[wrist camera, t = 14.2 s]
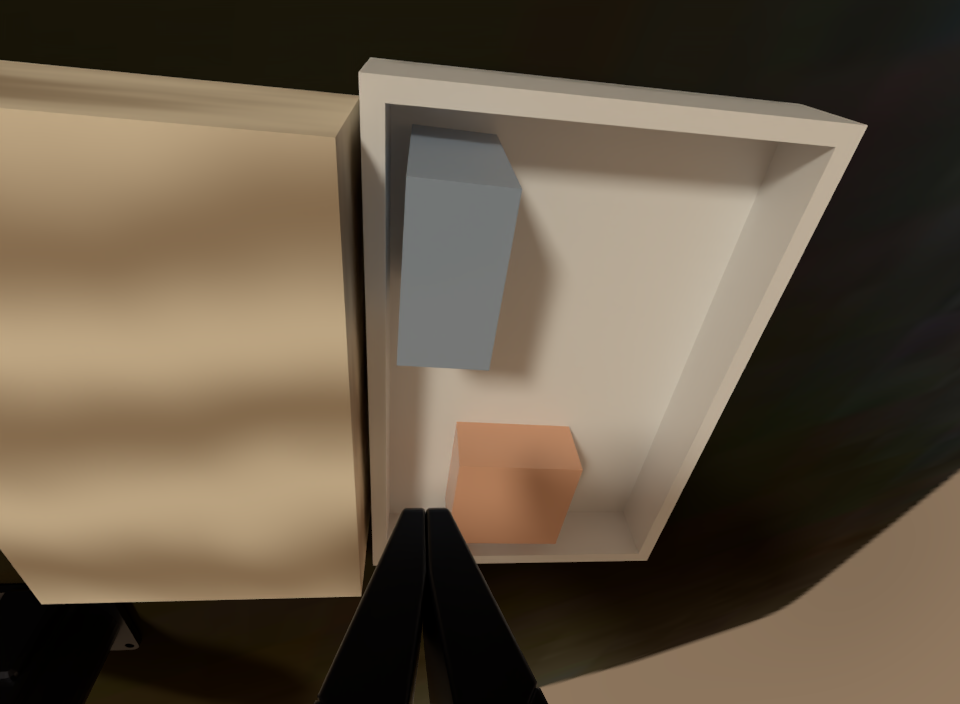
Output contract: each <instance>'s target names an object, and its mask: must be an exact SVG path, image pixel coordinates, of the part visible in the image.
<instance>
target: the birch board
mask: <svg viewBox="0 0 960 704" xmlns="http://www.w3.org/2000/svg"><path fill="white" fill-rule="evenodd" d="M370 510H371V476H370V442H369V408H368V374H367V340H366V306H365V272H364V238H363V204H362V170H361V136H360V102H359V96H358V95H347V94H337V93H327V92H317V91H307V90H297V89H287V88H277V87H266V86H256V85H246V84H236V83H226V82H216V81H206V80H196V79H185V78H175V77H165V76H155V75H145V74H135V73H125V72H115V71H104V70H94V69H84V68H74V67H64V66H54V65H44V64H34V63H23V62H13V61H3V60H0V549H1V551H2V552H3V553H4V555H5V556H6V557H7V559H8V560H9V561H10V563H11V564H12V565H13V567H14V568H15V569H16V571H17V572H18V573H19V575H20V576H21V577H22V579H23V580H24V581H25V583H26V584H27V586H28V587H29V588H30V590H31V591H32V592H33V594H34V595H35V596H36V598H37V599H38V600H39V602H40V603H41V604H74V603H113V602H153V601H193V600H233V599H273V598H312V597H352V596H361V593H362V584H363V575H364V565H365V556H366V547H367V538H368V529H369V519H370Z"/></svg>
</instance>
